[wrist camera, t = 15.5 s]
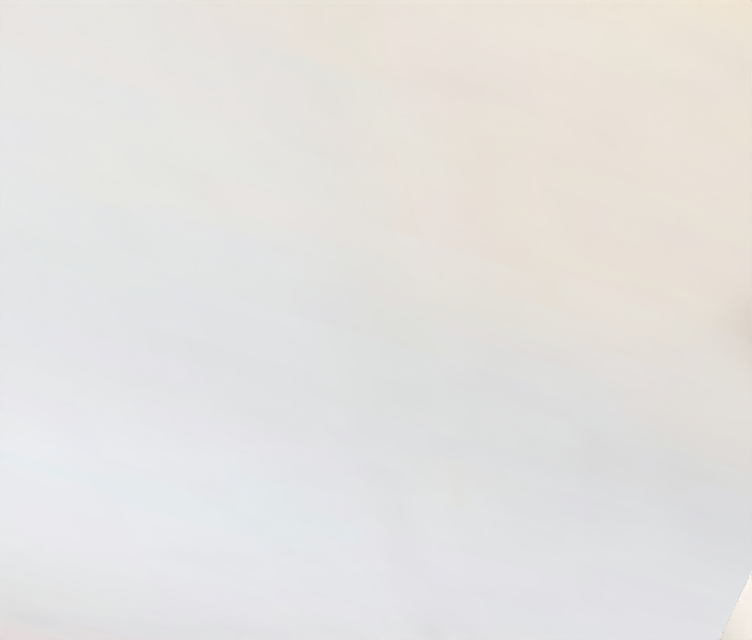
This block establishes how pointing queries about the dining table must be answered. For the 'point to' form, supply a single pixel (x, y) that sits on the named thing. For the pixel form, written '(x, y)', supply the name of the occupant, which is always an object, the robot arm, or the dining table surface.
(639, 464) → the dining table surface
